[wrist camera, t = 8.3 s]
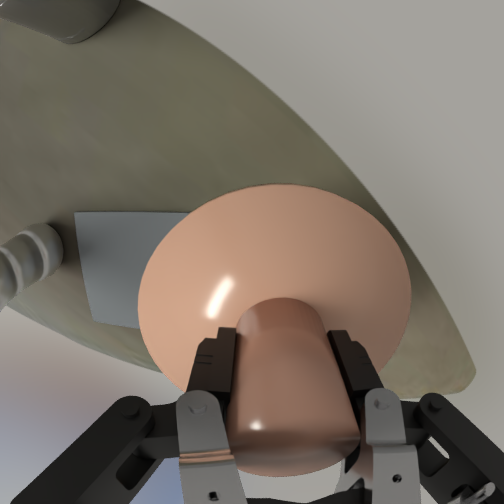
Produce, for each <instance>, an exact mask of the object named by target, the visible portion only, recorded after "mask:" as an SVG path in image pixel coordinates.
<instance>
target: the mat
mask: <svg viewBox="0 0 504 504" xmlns="http://www.w3.org/2000/svg"><path fill="white" fill-rule="evenodd" d="M190 213H191V212H146V211H90V212H74V216H75V226H76V235H77V242H78V249H79V256H80V262H81V267H82V273H83V278H84V283H85V288H86V292H87V297H88V301H89V305H90V309H91V313H92V317H93V321H95V322H101V323H106V324H112V325H118V326H124V327H130V328H137V329H140V325H139V317H138V294H139V289H140V284H141V280H142V276H143V274H144V271H145V269H146V266H147V264H148V261H149V260H150V258H151V256H152V254H153V253H154V251H155V249H156V248H157V246H158V245H159V244H160V242H161V241H162V240H163V239H164V238H165V236H166V235H167V234H168V233H169V232H170V231H171V230H172V229H173V228H174V227H175V226H176V225H177V224H178V223H179V222H180V221H181V220H183V219H184V218H185V217H186V216H187V215H188V214H190Z"/></svg>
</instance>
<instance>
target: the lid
mask: <svg viewBox="0 0 504 504" xmlns="http://www.w3.org/2000/svg"><path fill="white" fill-rule="evenodd" d="M410 307H411V283H410V276H409V272H408V268H407V265H406V262H405V259H404V257H403V255H402V252H401V250H400V248H399V246H398V244H397V243H396V241H395V240H394V239H393V237H392V236H391V235H390V233H389V232H388V230H387V229H386V228H385V227H384V226H383V225H382V224H381V223H380V222H379V221H378V220H377V219H376V218H375V217H374V216H372V215H371V214H369V213H368V212H367V211H365V210H364V209H362V208H361V207H360V206H358V205H356V204H354V203H352V202H351V201H349V200H347V199H345V198H342V197H340V196H338V195H336V194H334V193H332V192H329V191H326V190H323V189H319V188H316V187H313V186H306V185H300V184H293V183H268V184H260V185H253V186H247V187H244V188H240V189H237V190H233V191H230V192H227V193H225V194H223V195H220V196H218V197H216V198H214V199H211V200H209V201H208V202H206V203H204V204H203V205H201V206H200V207H198V208H197V209H195V210H193V211H192V212H191V213H190V214H188V215H187V216H186V217H185V218H184V219H183V220H181V221H180V222H179V223H178V224H177V225H176V226H175V227H174V228H173V229H172V230H171V231H170V232H169V233H168V234H167V235H166V236H165V238H164V239H163V240H162V241H161V242H160V244H159V245H158V246H157V248H156V249H155V251H154V253H153V254H152V256H151V258H150V260H149V261H148V264H147V266H146V269H145V271H144V274H143V276H142V280H141V284H140V289H139V294H138V317H139V325H140V329H141V333H142V336H143V340H144V342H145V344H146V347H147V349H148V351H149V353H150V355H151V356H152V358H153V360H154V361H155V363H156V365H157V366H158V367H159V368H160V370H161V371H162V372H163V373H164V375H165V376H166V377H167V378H168V379H169V380H170V381H171V382H173V383H174V384H175V385H176V386H177V387H178V388H179V389H181V390H182V391H184V392H186V389H187V386H188V382H189V378H190V374H191V370H192V366H193V363H194V359H195V356H196V351H197V348H198V345H199V344H200V343H201V342H202V341H203V340H204V339H205V338H217V333H218V328H219V327H232V328H236V342H235V353H234V364H233V374H232V385H231V396H230V403H229V405H228V407H227V412H226V422H225V432H226V436H227V440H228V444H229V448H230V451H231V453H232V454H233V456H234V459H235V462H236V466H237V469H239V470H241V471H244V472H247V473H251V474H255V475H260V476H269V477H287V476H297V475H303V474H308V473H312V472H315V471H319V470H322V469H325V468H327V467H330V466H332V465H334V464H336V463H338V462H340V461H341V460H343V459H344V458H345V457H347V456H349V455H350V454H351V453H352V452H353V451H354V450H355V449H356V447H357V446H358V444H359V442H360V436H361V435H360V432H359V428H358V425H357V422H356V419H355V416H354V412H353V409H352V406H351V403H350V400H349V397H348V394H347V391H346V388H345V385H344V382H343V379H342V376H341V373H340V370H339V367H338V364H337V361H336V359H335V356H334V353H333V350H332V347H331V344H330V342H329V339H328V336H327V332H328V331H329V330H347V332H348V334H349V336H350V338H351V341H358V342H359V343H360V344H361V345H362V346H363V347H365V349H366V351H367V353H368V355H369V358H370V359H371V361H372V365H374V367H375V370H376V372H377V374H378V373H379V372H380V371H381V370H382V369H383V367H384V366H385V365H386V364H387V362H388V361H389V360H390V358H391V357H392V355H393V354H394V352H395V350H396V349H397V347H398V345H399V343H400V341H401V339H402V337H403V334H404V332H405V329H406V326H407V322H408V319H409V314H410Z"/></svg>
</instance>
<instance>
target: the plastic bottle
mask: <svg viewBox="0 0 504 504" xmlns="http://www.w3.org/2000/svg"><path fill="white" fill-rule="evenodd" d="M62 259H63V244H62V241H61V238H60V236H59V235H58V233H57V232H56V231H55V230H54V229H53V228H52V227H50V226H49V225H47V224H44V223H38V224H32V225H30V226H28V227H26V228H25V229H23V230H22V231H21V232H20V233H19V234H18V235H17V236H15V237H14V238H12V239H10V240H9V241H7V242H6V243H4V244H3V245H1V246H0V312H1V310H2V309H3V308H4V307H5V306H6V305H7V304H8V303H9V302H10V301H11V300H12V299H13V298H14V297H15V296H16V295H17V294H18V293H20V292H21V291H22V290H24V289H25V288H27V287H29V286H30V285H32V284H34V283H35V282H37V281H40V280H43V279H45V278H47V277H49V276H51V275H52V274H54V272H55V271H56V270H57V269H58V268H59V267H60V265H61V263H62Z"/></svg>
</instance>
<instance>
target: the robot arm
mask: <svg viewBox="0 0 504 504" xmlns="http://www.w3.org/2000/svg"><path fill="white" fill-rule="evenodd" d="M119 1H120V0H0V18H1V19H4V20H7V21H10V22H13V23H16V24H19V25H22V26H24V27H27V28H30V29H32V30H35V31H37V32H40V33H42V34H45V35H47V36H50V37H52V38H54V39H57V40H59V41H61V42H63V43H67V44H73V43H77V42H80V41H82V40H85V39H87V38H88V37H90V36H92V35H93V34H94V33H96V32H97V31H98V30H99V29H100V28H102V27H103V26H104V25H105V24H106V23H107V21H108V20H109V19H110V18H111V17H112V15H113V14H114V12H115V11H116V9H117V7H118V5H119ZM327 336H328V339H329V342H330V344H331V347H332V350H333V353H334V356H335V359H336V361H337V364H338V367H339V370H340V373H341V376H342V379H343V382H344V385H345V388H346V391H347V394H348V397H349V400H350V403H351V406H352V409H353V412H354V416H355V419H356V422H357V425H358V428H359V432H360V435H361V436H360V442H359V444H358V446H357V447H356V449H355V450H354V451H353V452H352V453H351V454H350V455H349V456H347V457H345V458H344V459H343V460H342V461H341V472H340V478H339V482H338V484H337V486H336V489H335V492H334V494H332V495H329V496H327V497H324V498H321V499H318V500H315V501H312V502H309V503H296V502H288V501H282V500H276V499H271V498H246V497H245V494H244V490H243V487H242V484H241V481H240V477H239V473H238V470H237V466H236V462H235V459H234V456H233V454H232V453H231V451H230V448H229V444H228V440H227V436H226V432H225V422H226V412H227V407H228V405H229V403H230V396H231V385H232V374H233V364H234V353H235V342H236V328H232V327H219V328H218V333H217V338H205V339H204V340H203V341H202V342H201V343H200V344H199V345H198V348H197V351H196V356H195V359H194V363H193V366H192V370H191V374H190V378H189V382H188V386H187V389H186V392H185V393H184V394H183V395H182V396H180V397H179V398H178V400H177V401H176V402H173V403H170V404H165V405H154V406H150V404H149V403H148V402H147V401H146V400H144V399H143V398H141V397H137V396H126V397H123V398H120V399H119V400H117V401H116V402H115V403H114V404H113V405H112V406H111V407H110V408H109V409H108V410H107V411H106V412H104V413H103V414H102V415H101V416H100V417H99V418H98V419H97V420H96V421H95V422H94V423H93V424H92V425H91V426H90V427H89V428H88V429H87V430H86V431H85V432H84V433H83V434H82V435H81V436H80V437H79V438H78V439H76V440H75V441H74V442H73V443H72V444H71V445H70V446H69V447H68V448H67V449H66V450H65V451H64V452H63V453H62V454H61V455H60V456H59V457H58V458H57V459H56V460H54V461H53V462H52V463H51V464H50V465H49V466H48V467H47V468H46V469H45V470H44V471H43V472H42V473H41V474H40V475H39V476H37V477H36V478H35V479H34V480H33V481H32V482H31V483H30V484H29V485H28V486H27V487H26V488H25V489H24V490H22V491H21V493H19V494H18V495H17V496H16V497H15V498H14V499H13V500H12V501H11V503H10V504H129V503H130V502H131V501H132V499H133V498H134V497H135V496H136V494H137V493H138V492H139V491H140V489H141V488H142V487H143V486H144V484H145V483H146V482H147V481H148V479H149V478H150V477H151V475H152V474H153V473H154V472H155V470H156V469H157V468H158V466H159V465H160V464H161V462H162V461H163V460H164V458H173V457H179V469H180V477H181V484H182V491H183V498H184V504H421V494H420V484H421V485H422V486H423V487H424V488H425V489H426V490H427V492H428V493H429V494H430V495H431V496H432V497H433V498H434V500H435V501H436V502H437V503H438V504H504V453H503V452H502V451H501V450H500V449H499V448H498V447H497V446H496V445H495V444H494V443H493V442H492V441H491V440H490V439H489V438H488V437H487V436H486V435H485V434H484V433H482V432H481V431H480V430H479V429H478V428H477V427H476V426H475V425H474V424H473V423H472V422H471V421H470V420H469V419H468V418H466V417H465V416H464V415H463V414H462V413H461V412H460V411H459V410H458V409H457V408H456V407H454V406H453V405H452V404H451V403H450V402H449V401H448V400H447V399H446V398H444V397H443V396H442V395H440V394H437V393H428V394H425V395H424V396H423V397H422V398H421V399H420V401H419V402H410V401H401V400H400V399H399V397H398V396H397V395H396V394H395V393H394V392H393V391H391V390H389V389H385V388H384V386H383V384H382V382H381V380H380V378H379V376H378V374H377V372H376V370H375V367H374V365H372V361H371V359H370V358H369V355H368V353H367V351H366V349H365V347H363V346H362V345H361V344H360V343H359V342H358V341H351V338H350V336H349V334H348V332H347V330H329V331H328V332H327ZM431 436H432V437H433V438H434V439H435V440H436V441H437V442H438V443H439V444H440V446H441V447H442V448H443V449H444V450H445V451H446V452H447V453H448V454H449V459H448V458H445V457H444V456H443V455H442V454H441V453H440V452H439V451H438V450H437V449H436V448H435V447H434V445H433V444H432V443H431V442H430V441H429V440H428V439H429V438H430V437H431Z"/></svg>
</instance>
